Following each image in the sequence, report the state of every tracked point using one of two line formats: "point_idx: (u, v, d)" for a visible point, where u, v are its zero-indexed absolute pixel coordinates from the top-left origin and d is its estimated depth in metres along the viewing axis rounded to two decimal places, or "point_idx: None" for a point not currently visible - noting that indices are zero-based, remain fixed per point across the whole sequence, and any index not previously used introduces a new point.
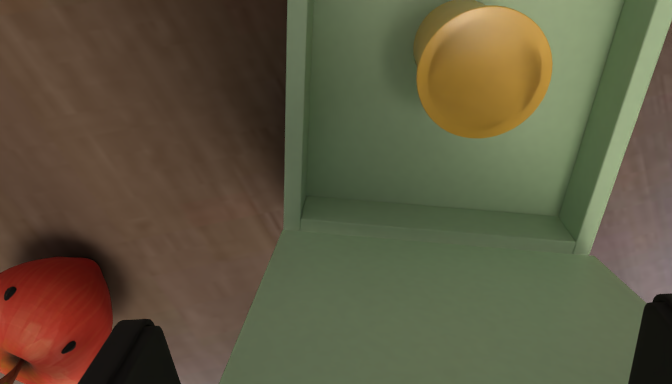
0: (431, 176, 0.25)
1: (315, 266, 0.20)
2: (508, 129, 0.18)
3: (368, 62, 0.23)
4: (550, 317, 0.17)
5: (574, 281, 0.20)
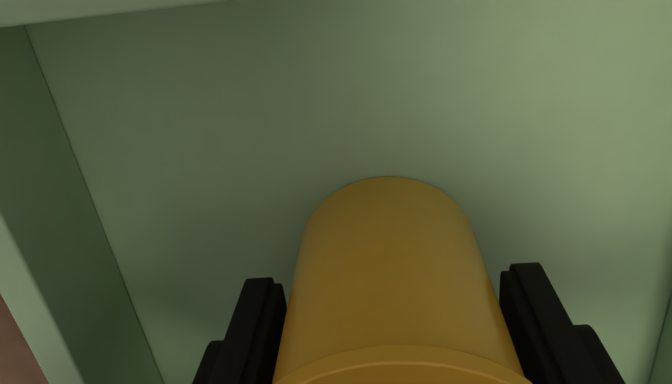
0: None
1: None
2: None
3: (231, 294, 0.12)
4: None
5: None
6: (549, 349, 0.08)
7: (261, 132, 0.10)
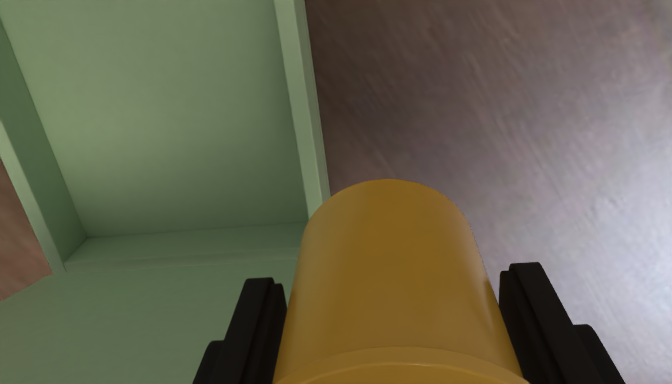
0: (187, 203, 0.26)
1: (32, 303, 0.22)
2: None
3: (88, 112, 0.24)
4: (197, 318, 0.18)
5: None
6: (549, 349, 0.08)
7: (89, 20, 0.22)
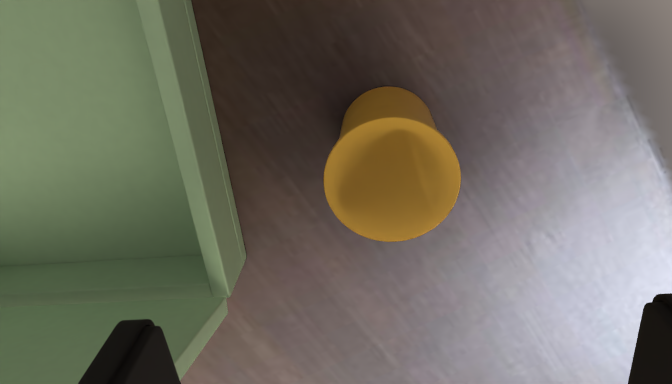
0: (82, 232, 0.24)
1: None
2: (430, 229, 0.17)
3: None
4: (35, 379, 0.16)
5: None
6: None
7: None
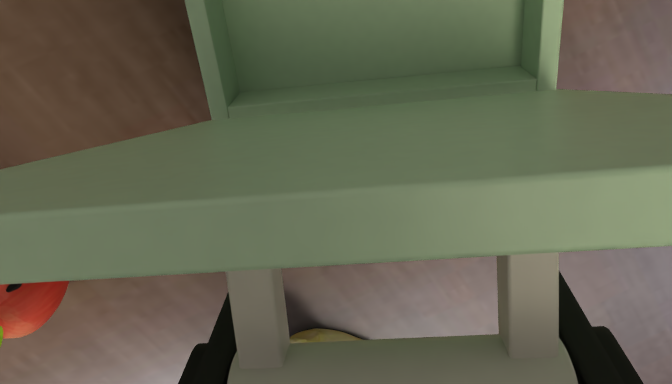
0: (368, 43, 0.22)
1: (225, 123, 0.18)
2: None
3: None
4: (481, 106, 0.14)
5: (526, 96, 0.17)
6: (568, 351, 0.08)
7: None
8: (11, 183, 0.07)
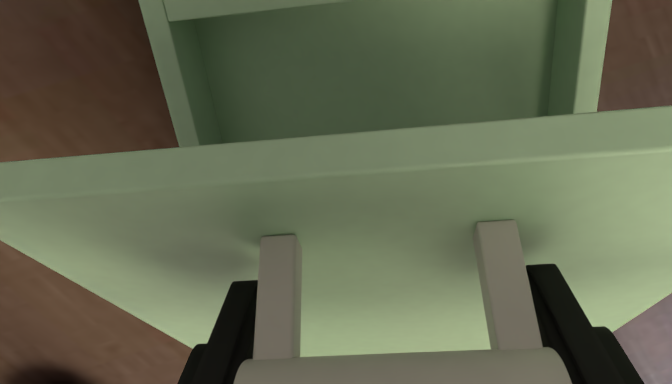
0: None
1: None
2: None
3: None
4: None
5: None
6: (569, 352, 0.08)
7: (313, 75, 0.19)
8: None
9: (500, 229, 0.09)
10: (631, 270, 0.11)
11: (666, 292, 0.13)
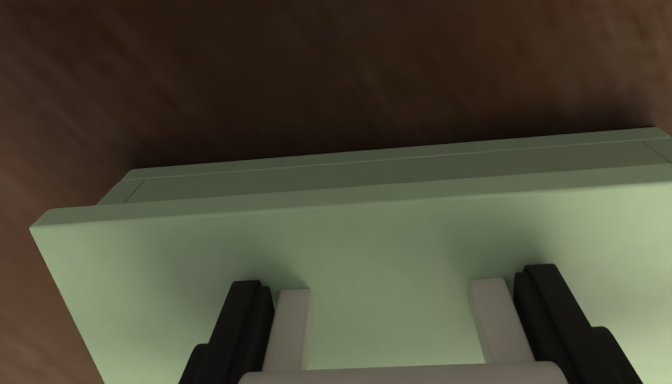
0: None
1: None
2: None
3: None
4: None
5: None
6: (568, 351, 0.08)
7: None
8: None
9: (491, 283, 0.10)
10: None
11: None
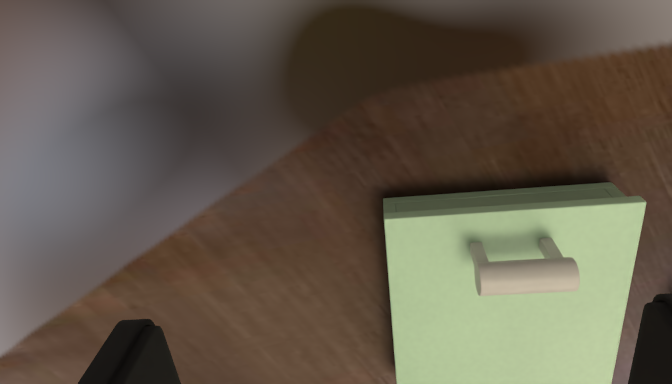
0: None
1: None
2: None
3: None
4: None
5: None
6: None
7: None
8: None
9: (547, 239, 0.29)
10: (601, 278, 0.30)
11: (624, 302, 0.31)
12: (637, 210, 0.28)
